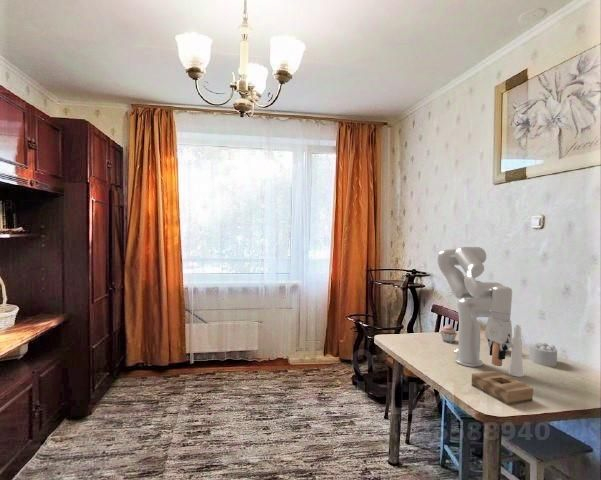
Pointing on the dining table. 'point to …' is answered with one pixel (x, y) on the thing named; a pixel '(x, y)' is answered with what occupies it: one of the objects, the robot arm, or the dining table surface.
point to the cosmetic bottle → (516, 354)
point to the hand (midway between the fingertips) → (497, 356)
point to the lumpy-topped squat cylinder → (543, 354)
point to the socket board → (502, 387)
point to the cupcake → (448, 333)
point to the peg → (496, 354)
